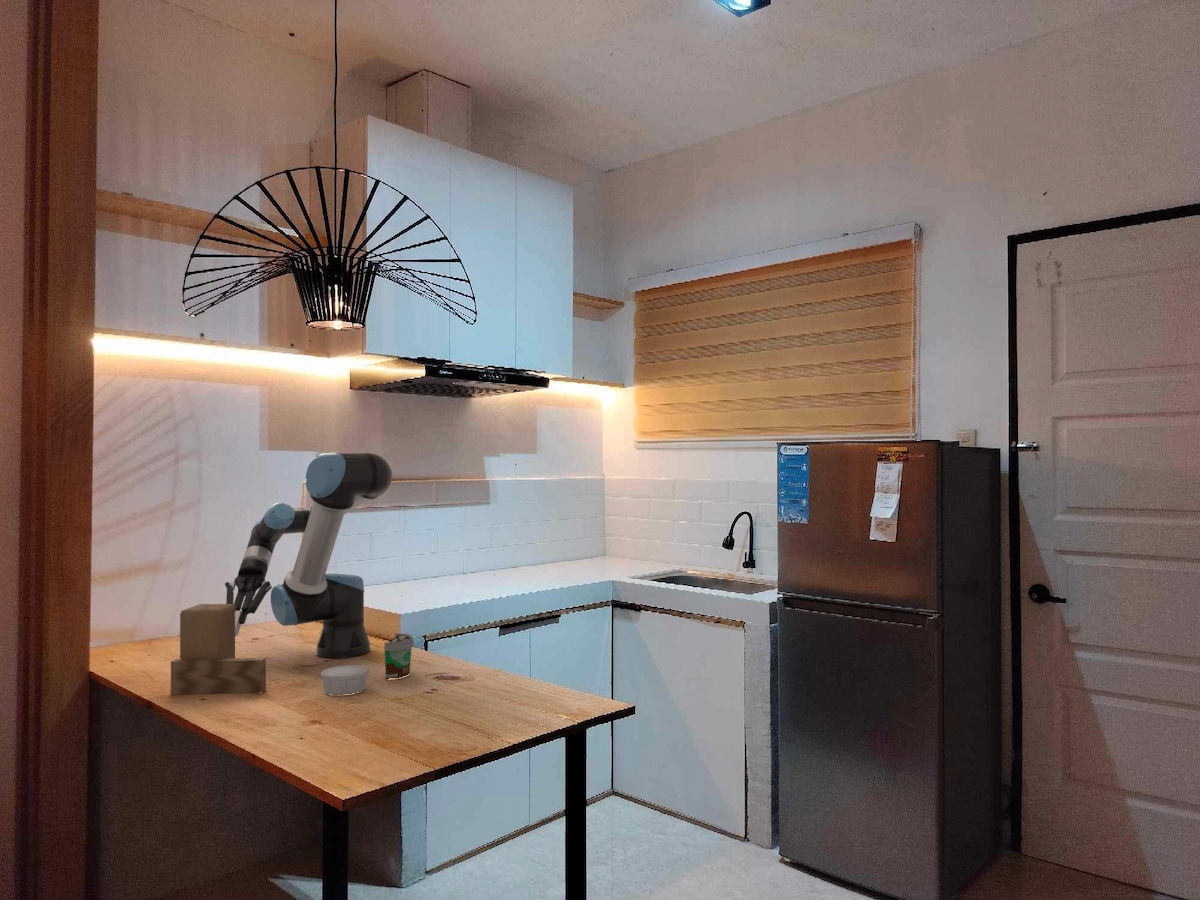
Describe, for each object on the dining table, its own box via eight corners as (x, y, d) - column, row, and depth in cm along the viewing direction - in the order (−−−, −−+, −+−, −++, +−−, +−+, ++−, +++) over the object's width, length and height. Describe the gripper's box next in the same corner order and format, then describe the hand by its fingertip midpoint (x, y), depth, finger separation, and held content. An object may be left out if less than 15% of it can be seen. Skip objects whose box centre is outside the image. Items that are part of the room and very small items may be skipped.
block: (236, 680, 214) (236, 603, 215) (218, 691, 204) (218, 610, 205) (198, 680, 214) (198, 603, 215) (178, 691, 204) (178, 610, 205)
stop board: (265, 690, 205) (265, 657, 205) (262, 693, 202) (262, 660, 202) (175, 691, 204) (175, 659, 204) (170, 694, 202) (170, 661, 202)
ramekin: (312, 692, 203) (312, 670, 203) (354, 683, 211) (354, 662, 211) (334, 701, 195) (334, 678, 195) (377, 691, 203) (377, 670, 203)
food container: (408, 682, 212) (408, 642, 212) (384, 682, 211) (384, 643, 212) (418, 669, 224) (418, 632, 224) (395, 670, 224) (395, 633, 224)
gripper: (280, 572, 247) (261, 640, 230) (236, 573, 246) (213, 641, 229) (274, 556, 242) (253, 624, 225) (228, 557, 241) (204, 626, 224)
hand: (233, 633), depth 227 cm, fingers closed
